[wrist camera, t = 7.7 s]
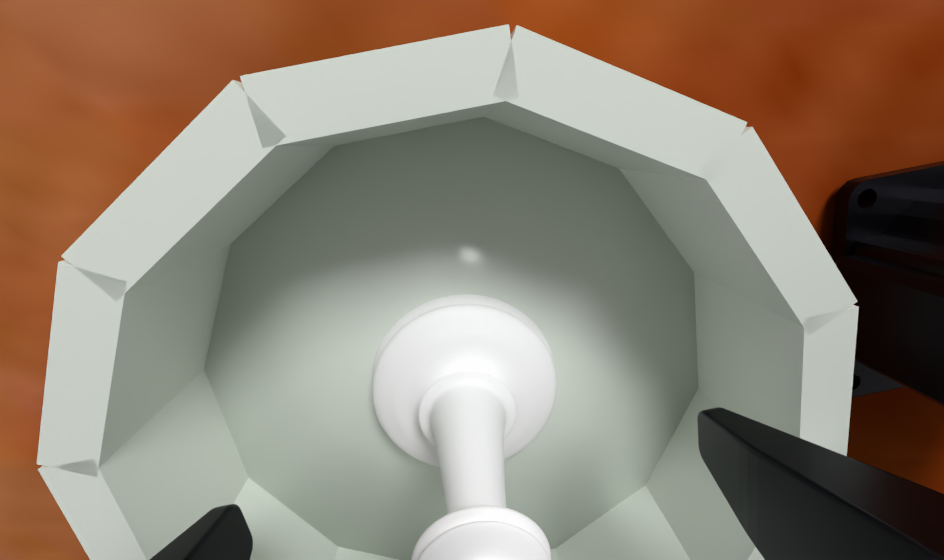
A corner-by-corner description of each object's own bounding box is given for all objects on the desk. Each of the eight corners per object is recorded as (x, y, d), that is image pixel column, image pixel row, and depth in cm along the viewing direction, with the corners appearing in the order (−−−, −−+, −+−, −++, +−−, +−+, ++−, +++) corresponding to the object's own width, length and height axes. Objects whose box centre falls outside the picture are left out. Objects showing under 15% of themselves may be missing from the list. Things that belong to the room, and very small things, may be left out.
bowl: (708, 29, 11) (887, -49, 6) (719, 516, 15) (829, 664, 11) (93, 149, 11) (-147, 150, 6) (285, 603, 15) (222, 788, 11)
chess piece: (589, 383, 12) (1089, 1199, 3) (456, 485, 13) (493, 1410, 4) (474, 255, 11) (671, 946, 2) (333, 375, 12) (-133, 1357, 2)
